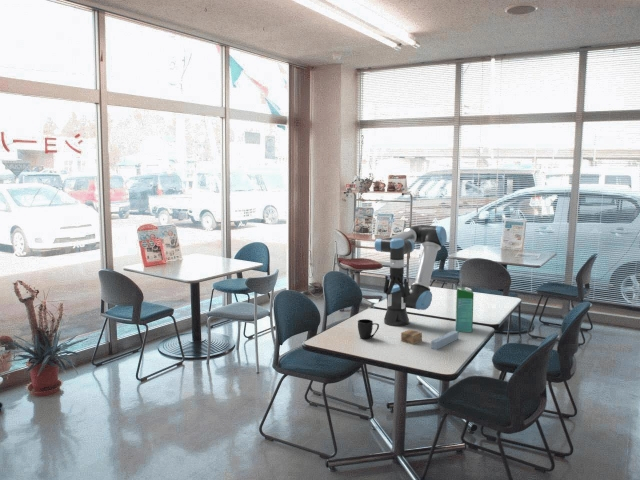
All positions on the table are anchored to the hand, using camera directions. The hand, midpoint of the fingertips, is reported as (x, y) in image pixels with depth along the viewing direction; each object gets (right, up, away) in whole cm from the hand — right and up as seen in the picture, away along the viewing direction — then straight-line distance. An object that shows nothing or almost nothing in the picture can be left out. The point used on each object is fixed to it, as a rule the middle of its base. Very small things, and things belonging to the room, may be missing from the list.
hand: (396, 307), depth 299 cm
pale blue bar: (+25, -18, -9) cm, 32 cm away
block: (+8, -18, -4) cm, 20 cm away
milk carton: (+42, -15, +16) cm, 47 cm away
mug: (-15, -18, +1) cm, 23 cm away
